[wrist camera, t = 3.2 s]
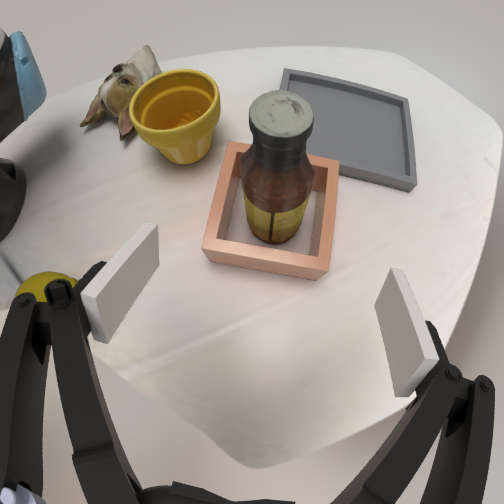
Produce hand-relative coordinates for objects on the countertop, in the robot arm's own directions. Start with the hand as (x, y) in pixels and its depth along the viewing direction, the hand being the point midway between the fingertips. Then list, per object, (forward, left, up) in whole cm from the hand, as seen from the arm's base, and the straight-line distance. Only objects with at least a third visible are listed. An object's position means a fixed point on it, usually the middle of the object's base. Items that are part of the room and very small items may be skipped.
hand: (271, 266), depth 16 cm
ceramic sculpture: (-25, +25, -19) cm, 40 cm away
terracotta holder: (0, +9, -18) cm, 20 cm away
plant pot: (-13, +18, -18) cm, 29 cm away
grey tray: (+8, +25, -18) cm, 32 cm away
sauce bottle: (0, +9, -18) cm, 21 cm away
